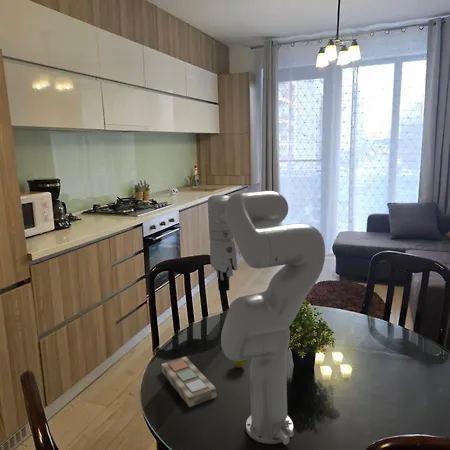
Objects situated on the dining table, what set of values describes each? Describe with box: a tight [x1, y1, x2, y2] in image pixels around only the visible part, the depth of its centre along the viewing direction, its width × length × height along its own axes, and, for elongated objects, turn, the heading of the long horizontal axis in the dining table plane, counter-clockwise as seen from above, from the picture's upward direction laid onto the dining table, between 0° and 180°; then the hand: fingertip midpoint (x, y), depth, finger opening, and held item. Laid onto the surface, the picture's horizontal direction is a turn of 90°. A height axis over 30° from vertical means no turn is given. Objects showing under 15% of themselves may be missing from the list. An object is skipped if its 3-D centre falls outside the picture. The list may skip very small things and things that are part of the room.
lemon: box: [230, 359, 248, 369], centre depth 140 cm, size 6×6×8 cm
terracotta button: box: [169, 360, 189, 372], centre depth 138 cm, size 5×5×3 cm
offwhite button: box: [186, 379, 207, 393], centre depth 126 cm, size 5×5×3 cm
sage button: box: [177, 369, 197, 382], centre depth 132 cm, size 5×5×3 cm
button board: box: [160, 356, 217, 408], centre depth 132 cm, size 23×9×3 cm, turn 29°
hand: (223, 290), depth 133 cm, fingers closed
